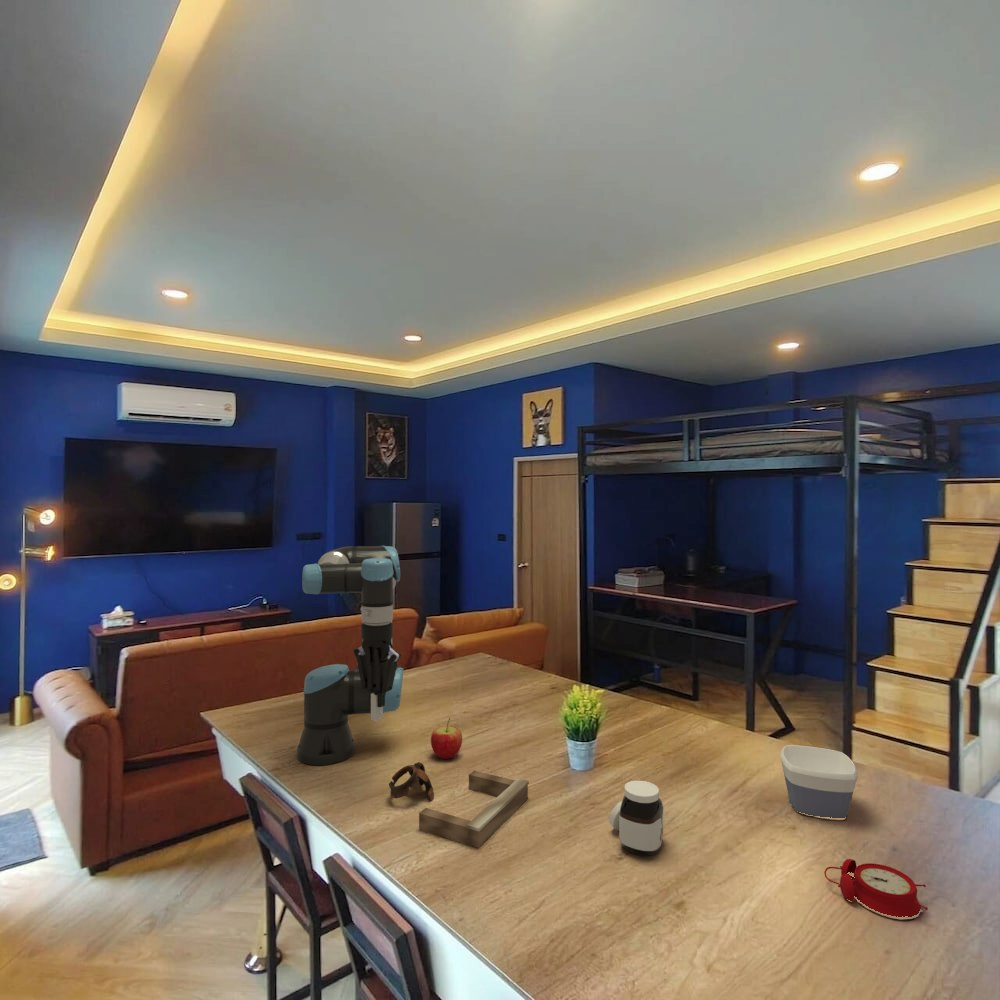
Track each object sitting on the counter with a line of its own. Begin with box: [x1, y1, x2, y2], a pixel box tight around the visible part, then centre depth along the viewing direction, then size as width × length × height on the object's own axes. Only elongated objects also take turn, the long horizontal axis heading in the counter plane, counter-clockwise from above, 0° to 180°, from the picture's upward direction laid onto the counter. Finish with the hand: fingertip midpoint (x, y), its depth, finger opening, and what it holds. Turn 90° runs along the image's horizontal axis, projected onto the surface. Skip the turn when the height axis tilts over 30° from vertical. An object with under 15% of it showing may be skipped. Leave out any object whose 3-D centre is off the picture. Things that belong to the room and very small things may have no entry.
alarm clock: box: [823, 858, 928, 917], centre depth 108 cm, size 10×6×15 cm
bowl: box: [780, 744, 859, 818], centre depth 139 cm, size 15×15×11 cm
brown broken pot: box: [388, 761, 435, 802], centre depth 144 cm, size 12×10×8 cm
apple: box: [430, 717, 463, 760], centre depth 166 cm, size 8×8×10 cm
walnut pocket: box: [418, 770, 530, 849], centre depth 136 cm, size 15×23×4 cm, turn 152°
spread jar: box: [608, 780, 664, 856], centre depth 125 cm, size 12×11×12 cm
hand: (376, 719), depth 149 cm, fingers closed
